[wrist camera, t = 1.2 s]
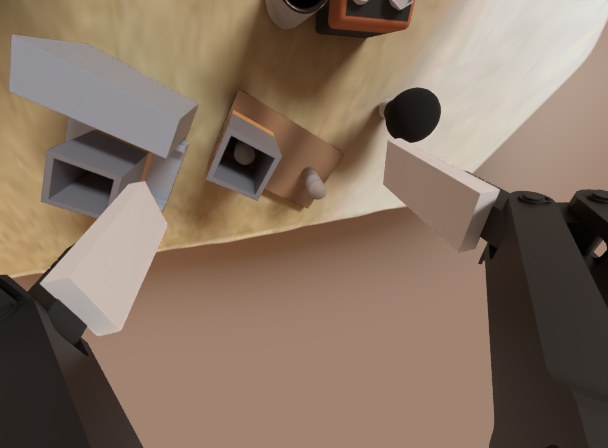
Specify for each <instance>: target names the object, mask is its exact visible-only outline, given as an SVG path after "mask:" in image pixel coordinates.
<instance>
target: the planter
mask: <svg viewBox="0 0 608 448" xmlns="http://www.w3.org/2000/svg"><path fill="white" fill-rule="evenodd" d="M326 1H327V0H265V4H266V9H267V12H268V15H269V17H270V18H271V20H272V21H273V22H274V23H275V24H276V25H277V26H278V27H280V28H283V29H292V28H295V27H297V26H298V25H300V24H301V23H302V22H303V21H305V20H306V19H307V18H309V17H310V16H311V15H313V14H314V13H315V12H317V11H318V10H319V9H320V8H321V7H322V6H323V5H324V4H325V3H326Z"/></svg>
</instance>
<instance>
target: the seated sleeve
mask: <svg viewBox="0 0 608 448" xmlns="http://www.w3.org/2000/svg"><path fill="white" fill-rule="evenodd" d="M231 136H233V137H235V138H237V139H239V140H241V141H243V142H245V143H247V144H249V145H250V146H252V147H254V148H256V149H258V150H260V151H259V153H258V155H257V157H256V159H255V161H254V163H252V162H251V163H250V164H247V165H243V164H240V163H239V162H237V161H236V159H235V157H234V153H232V152H230V151H228V150H226V149H225V148H226V146H227V144H228V141H229V139H230V137H231ZM281 157H282V155H281V152H280V149H279V147H278V144H277V141H276V139H275V136H274V133H273V132H272V131H270V130H268V129H266V128H265V127H263V126H261V125H259V124H258V123H256V122H254V121H252V120H251V119H249V118H247V117H245V116H244V115H242V114H240V113H238V112H237V111H235V110H233V112H232V114H231V117H230V119H229V121H228V124H227V126H226V128H225V131H224V133H223V135H222V138H221V140H220V142H219V145H218V147H217V150H216V152H215V155H214V158H213V161H212V163H211V166H210V169H209V172H208V174H207V177H206V180H209V181H211V182H213V183H216V184H218V185H221V186H223V187H225V188H228V189H230V190H232V191H235V192H237V193H239V194H242V195H244V196H247V197H249V198H251V199H254V200H256V201H258V199H259V197H260V196H261V194H262V192H263V190H264V188H265V187H266V185H267V183H268V181H269V179H270V177H271V176H272V174H273V172H274V170H275V168H276V166H277V165H278V163H279V161H280V159H281Z"/></svg>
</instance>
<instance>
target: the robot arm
mask: <svg viewBox="0 0 608 448" xmlns="http://www.w3.org/2000/svg"><path fill="white" fill-rule="evenodd" d="M383 185H385V186H386V187H387V188H388V189H389V190H390V191H391V192H392V193H393V194H395V195H396V196H397V197H398V198H399V199H400V200H401V201H402V202H403V203H404V204H406V205H407V206H408V207H409V208H410V209H411V210H412V211H413V212H414V213H416V214H417V215H418V216H419V217H420V218H421V219H422V220H423V221H424V222H425V223H426V224H428V225H429V226H430V227H431V228H432V229H433V230H434V231H435V232H436V233H437V234H439V235H440V236H441V237H442V238H443V239H444V240H445V241H446V242H448V243H449V244H450V245H451V246H452V247H453V248H454V249H455V250H456V251H458V252H463V251H468V250H472V249H475V248H476V246H477V244H478V241H479V239H480V237H481V238H483V239H484V240H486V241H487V245H486V247H485V249H484V251H483V253H482V256H481V258H480V260H479V263H478V264H482V262H483V261H484V260H485V268H486V285H487V302H488V318H489V334H490V352H491V367H492V368H491V369H492V385H493V402H494V430H493V433H492V437H491V440H490V444H489V448H608V191H604V190H590V189H588V190H580V191H577V192H576V193H575V194H574V196H573V198H572V199H571V201H570V202H569V203H567V202H565V203H556V202H555V201H554V200H553V199H551V198H550V197H547V196H545V195H542V194H539V193H535V192H530V191H515V192H512V193H508V192H506V191H505V190H503V189H501V188H499V187H496V186H495V185H493V184H491V183H489V182H487V181H484V180H483V179H481V178H479V177H478V178H477V177H476V176H475V175H473V174H471V173H469V172H467V171H464V170H461V169H459V168H457V167H455V166H453V165H451V164H450V163H448V162H446V161H444V160H442V159H440V158H438V157H436V156H434V155H432V154H430V153H428V152H426V151H424V150H422V149H420V148H419V147H417V146H415V145H413V144H411V143H409V142H407V141H405V140H403V139H401V138H398V139H392V140H388V143H387V153H386V162H385V172H384V181H383ZM167 226H168V224H167V222H166V220H165V219H164V217H163V215H162V213H161V211H160V209H159V207H158V205H157V203H156V201H155V200H154V198H153V196H152V194H151V192H150V190H149V188H148V186H147V184H146V182H145V181H143V182H137V183H131V184H128V185H127V187H126V188H125V189H124V190H123V191H122V192H121V193H120V194H119V195H118V197H117V198H116V199H115V200H114V201H113V202H112V203H111V204H110V206H109V207H108V208H107V209H106V210H105V211H104V212H103V213H102V214H101V216H100V217H99V218H98V219H97V220H96V221H95V222H94V223H93V225H92V226H91V227H90V228H89V229H88V230H87V231H86V232H85V233H84V235H83V236H82V237H81V238H80V239H79V240H78V241H77V242H76V243H75V244H73V245H72V246H70V247H69V248H68V249H66V250H65V251H64V252H63V254H62V255H61V256H60V257H59V258H58V261H55V262H54V263H53V264H52V266H51V267H50V268H51V269H48V270H47V271H46V272H45V273H44V274H43V275H42V276H41V278H40V279H39V280H38V281H37V282H36V283H35V284H34V285H33V286H32V287H31V288H30V290H29V291H28V292H27V291H25V290H24V289H23V288H22V287H21V286H20V285H18V284H17V283H16V282H15V281H14V280H13V279H12V278H10V277H9V276H8V275H0V448H143V446H142V444H141V443H140V441H139V439H138V437H137V435H136V433H135V431H134V429H133V427H132V425H131V424H130V422H129V420H128V418H127V416H126V414H125V413H124V410H123V409H122V407H121V405H120V403H119V401H118V399H117V397H116V395H115V394H114V392H113V390H112V388H111V386H110V384H109V382H108V380H107V378H106V377H105V375H104V373H103V371H102V369H101V367H100V365H99V364H98V362H97V360H96V358H95V356H94V354H93V352H92V350H91V348H90V347H89V345H88V343H87V342H86V341H85V340H84V339H82V338H81V336H82V334H83V332H84V331H85V329H86V327H88V328H89V329H90V330H91V331H92V332H93V333H94V334H96V335H97V336H101V335H106V334H110V333H114V332H118V331H121V329H122V327H123V325H124V323H125V320H126V318H127V316H128V314H129V312H130V309H131V307H132V305H133V302H134V300H135V298H136V296H137V294H138V291H139V289H140V287H141V285H142V282H143V280H144V278H145V276H146V273H147V271H148V269H149V267H150V264H151V262H152V260H153V257H154V255H155V253H156V251H157V249H158V246H159V244H160V242H161V240H162V237H163V235H164V233H165V231H166V228H167ZM603 240H604V242H605V243H606V245H607V250H606V251H605V253H604V254H603V255H602V256H601V257H598V256H597V255H596V254H595V253H594V251H595V249H596V248H597V247H598V246H599V244H600V243H601V242H602V241H603Z"/></svg>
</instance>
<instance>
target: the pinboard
mask: <svg viewBox="0 0 608 448" xmlns="http://www.w3.org/2000/svg"><path fill="white" fill-rule="evenodd" d="M233 110H235V111H237V112H238V113H240V114H242V115H244V116H245V117H247V118H249V119H251V120H252V121H254V122H256V123H258V124H259V125H261V126H263V127H265V128H266V129H268V130H270V131H272V132H273V133H274V136H275V139H276V141H277V144H278V147H279V149H280V152H281V155H282V157H281V159H280V161H279V163H278V165H277V166H276V168H275V170H274V172H273V174H272V176H271V177H270V179H269V181H268V183H267V185H266V187H265V188H264V189H265V190H268V191H270V192H272V193H274V194H277V195H279V196H281V197H283V198H285V199H288V200H290V201H292V202H294V203H296V204H299V205H301V206H303V207H305V208H309V206H310V205H311V203H312V202H313V200H314V199H322V198H323V197H324V196H325V195H326V193H327V189H326V187H325V185H324V183H325V182H326V180H327V179H328V177H329V176H330V174H331V173H332V171H333V170H334V168H335V167H336V165H337V164H338V162H339V161H340V159H341V158H342V156H343V155H344V154H343V153H342V152H341V151H340V150H338V149H336V148H335V147H333V146H332V145H330V144H328V143H327V142H325V141H323V140H322V139H320V138H319V137H317V136H315V135H314V134H312V133H310V132H309V131H307V130H306V129H304V128H302V127H301V126H299V125H298V124H296V123H294V122H293V121H291V120H289V119H288V118H286V117H285V116H283V115H281V114H280V113H278V112H276V111H275V110H273V109H272V108H270V107H268V106H267V105H265V104H263V103H262V102H260V101H259V100H257V99H255V98H254V97H252V96H250V95H249V94H247V93H246V92H244V91H242V90H241V89H239V90H238V93H237V95H236V97H235V100H234V102H233V105H232V107H231V109H230V112H229V114H228V116H227V119H226V121H225V124H224V126H223V128H222V131H221V133H220V136H219V138H218V140H217V143H216V145H215V148H214V150H213V152H212V155H211V157H210V159H209V162H208V164H210V165H211V163H212V161H213V158H214V155H215V152H216V150H217V147H218V145H219V142H220V140H221V138H222V135H223V133H224V131H225V128H226V126H227V124H228V121H229V119H230V117H231V114H232V112H233ZM225 149H226V150H228V151H230V152H232V153H234V157H235V159H236V161H237V162H239V163H240V164H243V165H247V164H250V163H251V162H252V163H254V161H255V159H256V157H257V155H258V153H259V151H260V150H258V149H256V148H254V147H252V146H250V145H249V144H247V143H245V142H243V141H241V140H239V139H237V138H235V137H233V136H231V137H230V139H229V141H228V144H227V146H226V148H225Z"/></svg>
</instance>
